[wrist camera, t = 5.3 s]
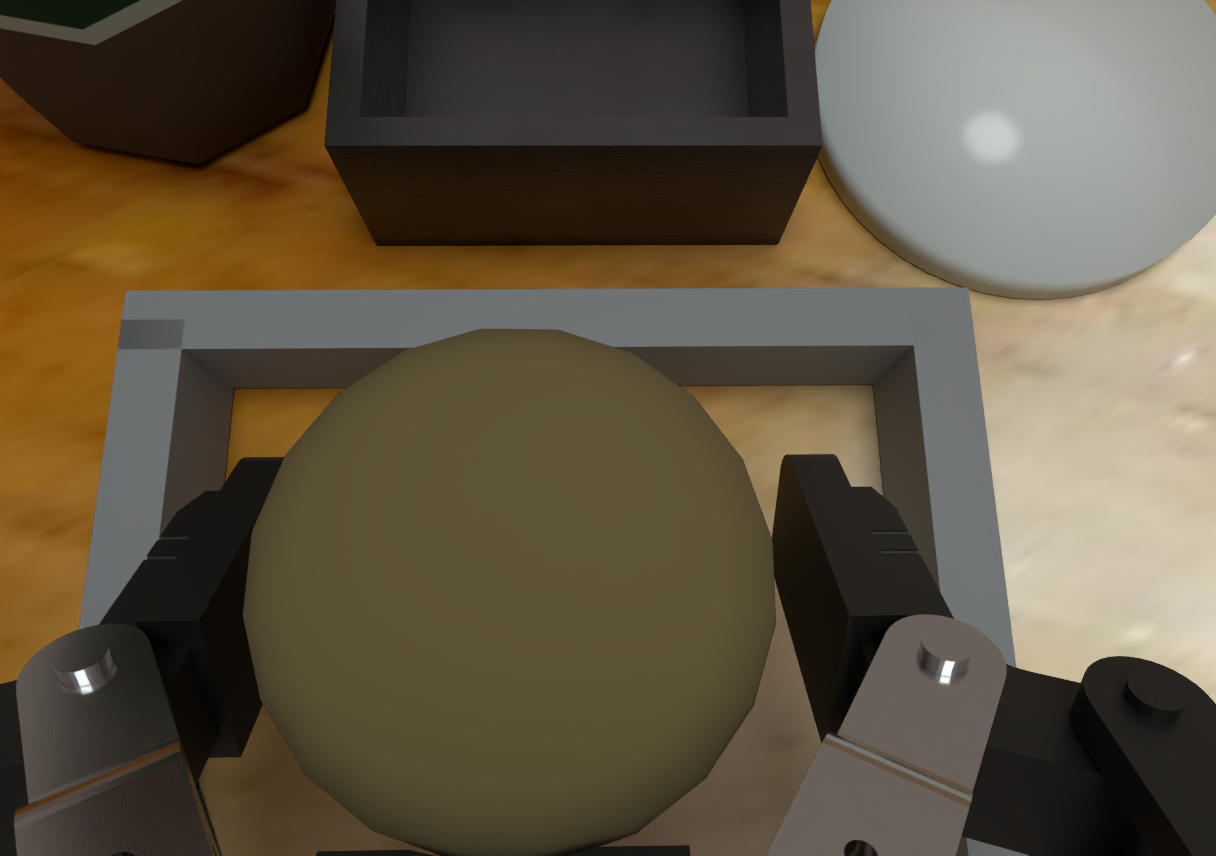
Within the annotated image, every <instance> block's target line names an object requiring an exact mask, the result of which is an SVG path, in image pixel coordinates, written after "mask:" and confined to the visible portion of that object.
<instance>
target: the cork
mask: <svg viewBox="0 0 1216 856" xmlns="http://www.w3.org/2000/svg"><path fill="white" fill-rule="evenodd" d="M243 619H244V624H245V628H246V633H247V638H248V643H249V647H250V652H251V657H252V662H253V666H254V671H255V676H256V681H257V686H258V690H259V695H260V700H261V701H262V703H263V705H264V706H265V708H266V710H267V711H268V713H269V715H270V716H271V718H272V720H273V722H274V723H275V725H276V727H277V728H278V730H279V732H280V733H281V735H282V737H283V738H284V740H285V742H286V743H287V745H288V747H289V748H290V750H291V752H292V753H293V755H294V757H295V759H296V760H297V762H298V764H299V765H300V767H301V769H302V770H303V772H304V774H305V775H306V776H307V777H309V778H310V779H311V780H312V781H313V782H315V783H316V784H317V785H318V786H320V787H321V788H322V789H323V790H324V791H326V792H327V793H328V794H329V795H330V796H332V797H333V798H334V799H335V800H336V801H338V802H339V803H340V804H341V805H342V806H344V807H345V808H346V809H347V810H348V811H350V812H351V813H352V814H353V815H354V816H356V817H357V818H358V819H359V820H360V821H362V822H363V823H364V824H365V825H366V826H368V827H369V828H370V829H371V830H372V831H375V832H378V833H380V834H383V835H386V836H389V837H391V838H394V839H397V840H400V841H402V842H405V843H408V844H411V845H413V846H416V847H419V848H422V849H425V850H427V851H430V852H433V853H436V854H438V855H441V856H566V855H569V854H573V853H577V852H581V851H584V850H588V849H592V848H596V847H599V846H602V845H605V844H608V843H611V842H613V841H616V840H619V839H622V838H625V837H628V836H631V835H633V834H636V833H637V832H638V831H640V830H641V829H642V828H644V827H645V826H646V825H647V824H649V823H650V822H651V821H652V820H654V819H655V818H656V817H657V816H659V815H660V814H661V813H663V812H664V811H665V810H666V809H668V808H669V807H670V806H671V805H673V804H674V803H675V802H677V801H678V800H679V799H680V798H682V797H683V796H684V795H685V794H687V793H688V792H689V791H690V790H692V789H693V788H694V787H696V786H697V785H698V784H699V783H701V782H702V781H703V780H704V779H706V777H707V776H708V774H709V773H710V771H711V769H712V768H713V766H714V765H715V763H716V762H717V760H718V759H719V757H720V756H721V754H722V753H723V751H724V750H725V748H726V747H727V745H728V744H729V742H730V741H731V739H732V738H733V736H734V734H735V733H736V731H737V730H738V728H739V727H740V725H741V724H742V722H743V721H744V719H745V718H746V716H747V715H748V713H749V712H750V710H751V709H752V707H753V706H754V702H755V698H756V695H757V691H758V687H759V684H760V680H761V676H762V673H763V669H764V665H765V662H766V658H767V655H768V651H769V647H770V644H771V640H772V636H773V633H774V629H775V625H776V610H775V587H774V564H773V541H772V538H771V535H770V532H769V530H768V527H767V524H766V521H765V519H764V516H763V513H762V511H761V508H760V505H759V502H758V500H757V497H756V494H755V491H754V489H753V486H752V483H751V480H750V478H749V475H748V472H747V470H746V467H745V464H744V461H743V459H742V458H741V456H740V455H739V454H738V453H737V451H736V450H735V449H734V447H733V446H732V445H731V443H730V442H729V441H728V440H727V438H726V437H725V436H724V434H723V433H722V432H721V431H720V429H719V428H718V427H717V425H716V424H715V423H714V421H713V420H712V419H711V418H710V416H709V415H708V414H707V412H706V411H705V410H704V409H703V407H702V406H701V405H700V403H699V402H698V401H697V399H696V398H695V397H694V396H693V395H691V394H690V393H688V392H687V391H685V390H684V389H682V388H681V387H680V386H678V385H677V384H675V383H674V382H672V381H671V380H670V379H668V378H667V377H665V376H664V375H662V374H661V373H660V372H658V371H657V370H655V369H654V368H652V367H651V366H649V365H648V364H647V363H645V362H644V361H642V360H641V359H639V358H638V357H637V356H635V355H634V354H632V353H631V352H627V351H624V350H621V349H618V348H615V347H612V346H609V345H605V344H602V343H599V342H596V341H593V340H590V339H587V338H583V337H580V336H577V335H574V334H571V333H568V332H565V331H561V330H558V329H477V330H474V331H470V332H467V333H463V334H460V335H456V336H453V337H449V338H446V339H443V340H439V341H436V342H432V343H429V344H425V345H422V346H418V347H415V348H411V349H408V350H405V351H403V352H402V353H400V354H399V355H397V356H396V357H394V358H393V359H391V360H389V361H388V362H386V363H385V364H383V365H382V366H380V367H379V368H377V369H375V370H374V371H372V372H371V373H369V374H368V375H366V376H365V377H363V378H361V379H360V380H358V381H357V382H355V383H354V384H352V385H351V386H349V387H347V388H346V389H344V390H343V391H341V392H340V393H338V394H337V396H336V397H335V398H334V399H333V400H332V401H331V403H330V404H329V405H328V406H327V407H326V408H325V410H324V411H323V412H322V413H321V414H320V415H319V417H318V418H317V419H316V420H315V421H314V422H313V424H312V425H311V426H310V427H309V428H308V429H307V431H306V432H305V433H304V434H303V435H302V436H301V438H300V439H299V440H298V441H297V442H296V443H295V445H294V446H293V447H292V448H291V449H290V450H289V452H288V453H287V454H286V455H285V457H284V460H283V462H282V464H281V466H280V469H279V471H278V473H277V475H276V478H275V480H274V482H273V485H272V487H271V489H270V491H269V494H268V496H267V498H266V501H265V503H264V505H263V507H262V510H261V512H260V514H259V516H258V519H257V521H256V523H255V526H254V528H253V530H252V536H251V545H250V554H249V563H248V572H247V582H246V591H245V600H244V609H243Z"/></svg>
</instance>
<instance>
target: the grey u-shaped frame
mask: <svg viewBox="0 0 1216 856" xmlns="http://www.w3.org/2000/svg"><path fill="white" fill-rule="evenodd" d="M477 329H558V330H561V331H565V332H568V333H571V334H574V335H577V336H580V337H583V338H587V339H590V340H593V341H596V342H599V343H602V344H605V345H609V346H612V347H615V348H618V349H621V350H624V351H627V352H631V353H632V354H634V355H635V356H637V357H638V358H639V359H641V360H642V361H644V362H645V363H647V364H648V365H649V366H651V367H652V368H654V369H655V370H657V371H658V372H660V373H661V374H662V375H664V376H665V377H667V378H668V379H670V380H671V381H672V382H674V383H675V384H677V385H678V386H704V385H872V384H873V386H874V397H875V408H876V418H877V429H878V440H879V450H880V461H881V472H882V483H883V493H884V498H885V499H887V500H888V501H889V502H890V503H891V504H893V505H894V506H895V507H896V509H897V511H898V512H899V514H900V516H901V518H902V520H903V522H904V524H905V526H906V528H907V530H908V535H911V537H912V539H913V541H914V543H915V545H916V547H917V549H918V554H921V556H922V558H923V560H924V562H925V564H926V566H927V568H928V570H929V572H930V573H931V575H932V577H933V579H934V581H935V583H936V585H937V587H938V589H939V591H940V592H941V594H942V596H943V598H944V600H945V602H946V604H947V606H948V608H949V610H950V612H951V613H952V615H953V617H954V619H955V620H958V621H961V622H963V623H966V624H968V625H970V626H971V627H973V628H975V629H977V630H978V631H980V632H981V633H983V634H984V635H986V636H987V637H988V638H989V639H990V640H991V641H992V642H993V643H994V644H995V645H996V646H997V647H998V649H999V650H1000V652H1001V653H1002V655H1003V657H1004V660H1005V662H1006V664H1008V665H1010V666H1013V667H1016V662H1015V655H1014V647H1013V639H1012V631H1011V623H1010V615H1009V607H1008V599H1007V591H1006V583H1005V575H1004V567H1003V559H1002V552H1001V544H1000V536H999V528H998V520H997V512H996V504H995V496H994V488H993V480H992V472H991V464H990V457H989V449H988V441H987V433H986V425H985V417H984V409H983V401H982V393H981V385H980V377H979V369H978V362H977V354H976V346H975V338H974V330H973V322H972V314H971V306H970V298H969V290H968V287H962V288H692V289H421V290H150V291H126V293H125V300H124V307H123V314H122V321H121V329H120V336H119V343H118V350H117V357H116V365H115V372H114V379H113V386H112V393H111V400H110V408H109V415H108V422H107V429H106V436H105V443H104V451H103V458H102V465H101V472H100V479H99V487H98V494H97V501H96V508H95V515H94V522H93V530H92V537H91V544H90V551H89V558H88V566H87V573H86V580H85V587H84V594H83V601H82V609H81V616H80V623H79V629H83V628H86V627H90V626H95V625H99V623H100V622H101V620H102V619H103V617H104V616H105V615H106V613H107V612H108V610H109V609H110V607H111V606H112V605H113V603H114V602H115V600H116V599H117V597H118V596H119V594H120V593H121V592H122V590H123V589H124V587H125V586H126V584H127V583H128V581H129V580H130V579H131V577H132V576H133V574H134V573H135V571H136V570H137V569H138V567H139V566H140V564H141V563H142V561H143V560H147V554H148V553H149V551H150V550H151V548H152V547H153V545H154V544H155V543H156V541H157V540H160V539H161V536H160V535H161V534H162V532H163V531H164V530H165V528H166V527H167V525H168V524H169V522H170V521H171V520H172V518H173V517H174V515H175V514H176V512H177V511H179V510H180V509H181V508H183V507H184V506H185V505H187V504H188V503H190V502H191V501H192V500H194V499H195V498H196V497H198V496H199V495H201V494H202V493H203V492H205V491H220V490H221V488H222V487H223V485H224V481H225V471H226V461H227V451H228V442H229V432H230V422H231V412H232V402H233V393H234V388H347V387H349V386H351V385H352V384H354V383H355V382H357V381H358V380H360V379H361V378H363V377H365V376H366V375H368V374H369V373H371V372H372V371H374V370H375V369H377V368H379V367H380V366H382V365H383V364H385V363H386V362H388V361H389V360H391V359H393V358H394V357H396V356H397V355H399V354H400V353H402V352H403V351H405V350H408V349H411V348H415V347H418V346H422V345H425V344H429V343H432V342H436V341H439V340H443V339H446V338H449V337H453V336H456V335H460V334H463V333H467V332H470V331H474V330H477ZM956 856H1029V855H1026V854H1023V853H1019V852H1015V851H1012V850H1008V849H1005V848H1001V847H998V846H994V845H990V844H987V843H983V842H980V841H976V840H972V839H969V838H965V837H962V836H961V839H960V842H959V845H958V849H957V852H956Z"/></svg>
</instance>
